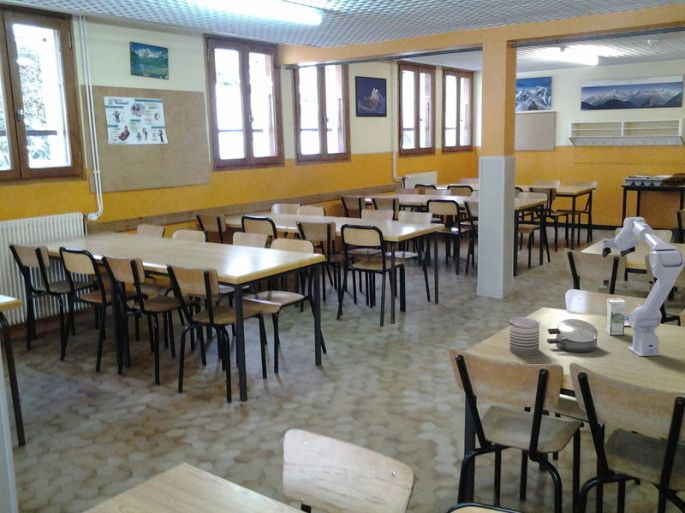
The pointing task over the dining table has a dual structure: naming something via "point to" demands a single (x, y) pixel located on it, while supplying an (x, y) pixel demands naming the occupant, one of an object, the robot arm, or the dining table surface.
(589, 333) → the cooker lid
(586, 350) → the cooker pot
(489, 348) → the dining table surface
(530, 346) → the can
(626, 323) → the smartphone
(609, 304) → the syrup box
